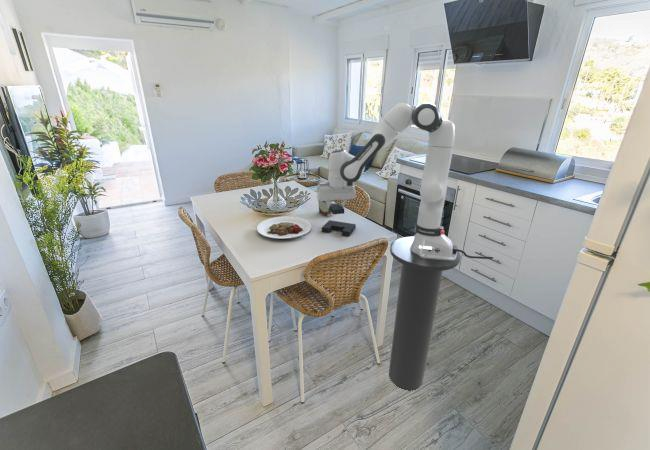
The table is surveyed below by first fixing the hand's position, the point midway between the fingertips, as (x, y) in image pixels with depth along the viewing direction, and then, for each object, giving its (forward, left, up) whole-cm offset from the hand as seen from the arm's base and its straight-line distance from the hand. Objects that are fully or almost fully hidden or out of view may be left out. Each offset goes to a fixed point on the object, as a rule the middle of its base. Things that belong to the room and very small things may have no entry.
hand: (335, 207), depth 165 cm
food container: (+15, -27, -15) cm, 35 cm away
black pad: (0, -6, -15) cm, 16 cm away
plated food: (+28, +6, -15) cm, 32 cm away
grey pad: (0, 0, -2) cm, 2 cm away
